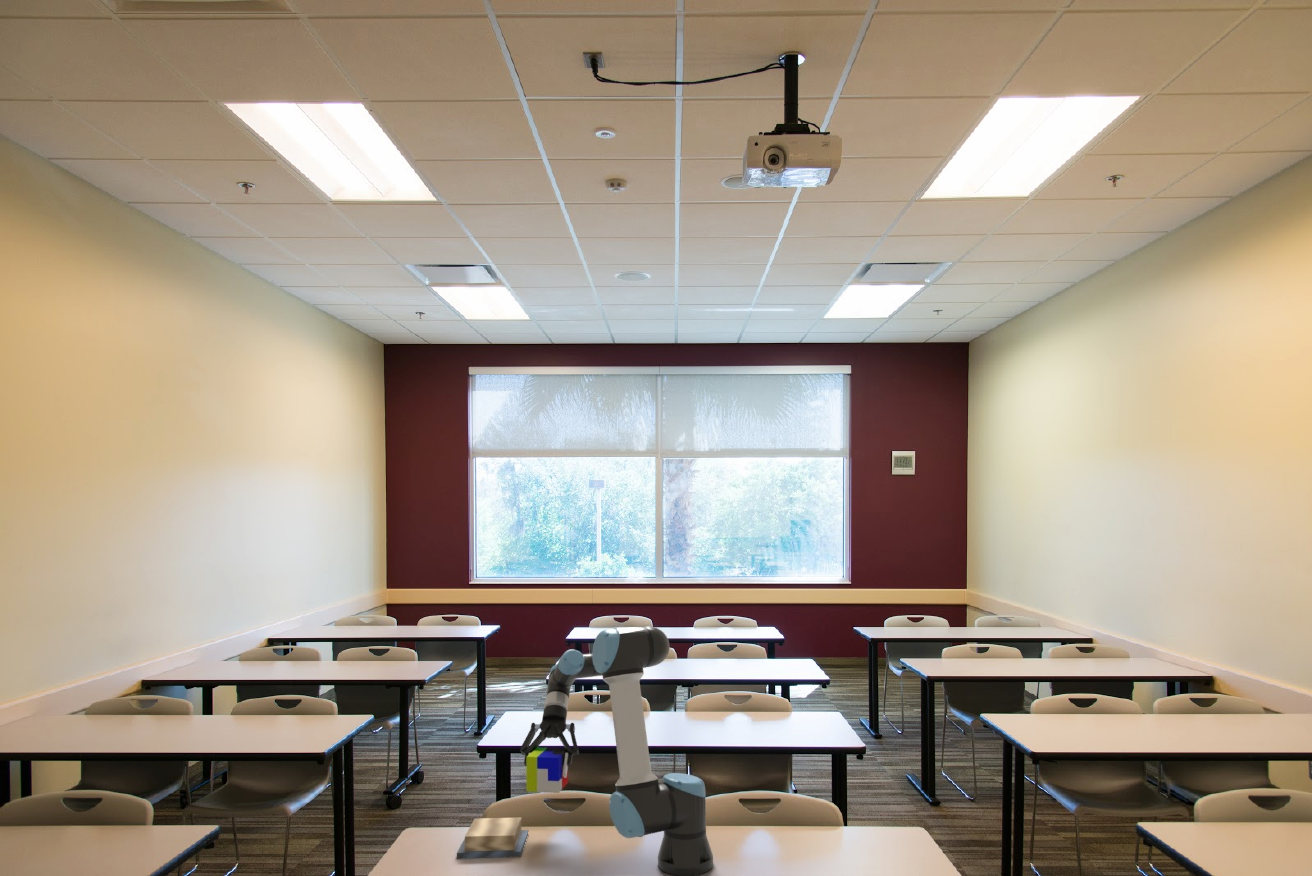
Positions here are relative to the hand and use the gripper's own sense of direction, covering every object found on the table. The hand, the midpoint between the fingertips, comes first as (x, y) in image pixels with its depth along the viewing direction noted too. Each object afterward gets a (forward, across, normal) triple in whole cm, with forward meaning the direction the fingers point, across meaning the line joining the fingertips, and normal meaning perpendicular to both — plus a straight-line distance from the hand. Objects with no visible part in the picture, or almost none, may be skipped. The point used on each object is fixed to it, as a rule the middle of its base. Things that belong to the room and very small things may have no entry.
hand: (545, 775), depth 241 cm
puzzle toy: (+1, 0, -5) cm, 5 cm away
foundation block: (+17, +14, -8) cm, 24 cm away
